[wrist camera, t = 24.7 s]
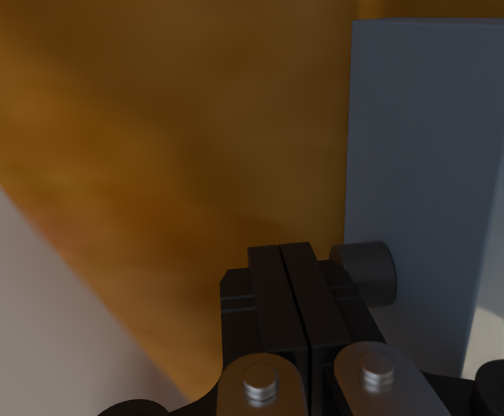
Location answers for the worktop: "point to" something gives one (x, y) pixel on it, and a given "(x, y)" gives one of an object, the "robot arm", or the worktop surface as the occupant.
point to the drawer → (428, 187)
